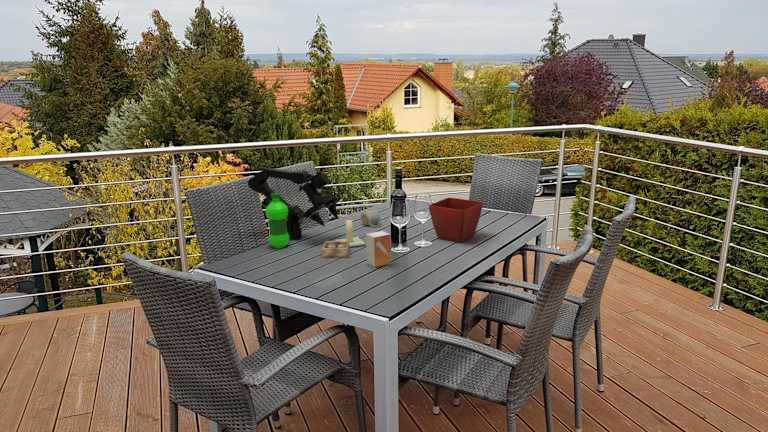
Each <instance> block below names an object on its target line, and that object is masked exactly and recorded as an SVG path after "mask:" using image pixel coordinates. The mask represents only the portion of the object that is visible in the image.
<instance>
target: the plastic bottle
mask: <svg viewBox="0 0 768 432" xmlns="http://www.w3.org/2000/svg"><path fill="white" fill-rule="evenodd" d="M280 197H281V193H280V192H276V193H272V194H271V198H272V199H273V201H272V202H271V201H270V203H269V204H268V205H267V206H266V207H265V211H264V213H265V217H266V218H267V219H268V223H269V224H268V225H269V235H268V239H267V240H268V241H267V242H268V243H269V244H270V246H272V247H273V248H276V249H282V248H285V247H286V246H287V245H288V244H289V242H290V239H289V234H288V233H287V227H286V221H287V218H286V217H287V216H288V208H287V206H286V205H285V204H284V203H282V202H281V201H280V199H279V198H280Z"/></svg>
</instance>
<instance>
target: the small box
mask: <svg viewBox="0 0 768 432" xmlns="http://www.w3.org/2000/svg"><path fill="white" fill-rule="evenodd" d="M365 236H366V237H365V239H366V240H365V241H366V242H365V243H366V245H365V246H366V264H367V265H370V266H371V267H373V268H378V267H382V266H386V265H390V264H391V262H392V261H391V233H388V232H386V231H384V230H380V231H375V232H374V231H373V232H370V233H366V234H365Z"/></svg>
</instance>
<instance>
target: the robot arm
mask: <svg viewBox="0 0 768 432" xmlns="http://www.w3.org/2000/svg"><path fill="white" fill-rule="evenodd" d="M269 178H273V179H280V180H288V181H290V182H291V183H293V184H297V185H299V188H298V192H302V191H303V192H304V193H305V195H306V197H307V198H308V200H307V201H308V203H311V204H312V207H310V208H307V210H306V211H305V212H304V209H302V208H301V207H300V206H299V205H298V204H295V205H291V204H290V203H288V202H287V201H286V200H285V199H284V198H283V197H281V196H280V198H279V199H280V201H281V202H282V203H284V204H285V205H286V206H287V208H288V216H287V217H286V227H287V233H288V234H289V240H300V239H301V238H302V237H303V228H302V226H301V224H302V223H303V221H304V220H305V219H308V220H312V221H314V222H316V223H317V224H319V225H320V226H322V227H325V226H326V225H325V223H324V221H323V219H322V217H321V215H320V210H322V209H324V208H327V210H328V211H329V212H330V213H331V216H333V217H334V218H335V219H337V220H338V219H339V216H338V215H339V214H338V211H337V205H338V202H339V198H338V197H337V196H335V195H334V193H333V191H332V190H331V189H329V190H326V191H325V193H323V192H321V191H319V190H322V189H323V188H324V187H326V185H327V184H329V183H330V182H331V180H330V178H329V176H328V175H327V174H325V172H323V171H322V170H320V171H318V172H317V173H315V175H314V174H311V173H309V171H307V170H305V169H304V170H302V169H301V170H286V169H285V170H284V169H278V168H272V167H265V168H262V170H261V171H259V173H257V174H256V175H255V176H253V177H251V178H249V179H248V180H247V186H248V188H249V189H250V190H252V191H253V192H255V193H258V194H261V195H263V196H264V197H265V198H266V199H268V200H269V201H270V203H271V202H272V201H273V199H272V198H271V194H272V193H277V192H276V191H274V190H273V189H272V188H271V187H270V186H269V183H268V182H267V181H268V179H269Z"/></svg>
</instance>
